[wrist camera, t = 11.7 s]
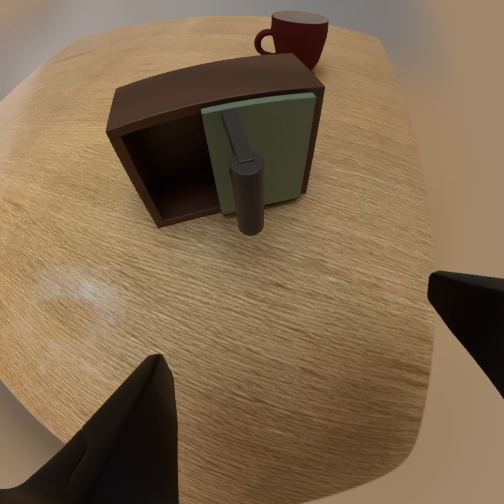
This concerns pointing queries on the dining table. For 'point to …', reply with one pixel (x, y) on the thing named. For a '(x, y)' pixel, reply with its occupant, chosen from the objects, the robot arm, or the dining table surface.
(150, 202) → the cabinet
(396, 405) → the dining table surface
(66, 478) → the robot arm
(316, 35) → the mug
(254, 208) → the door
